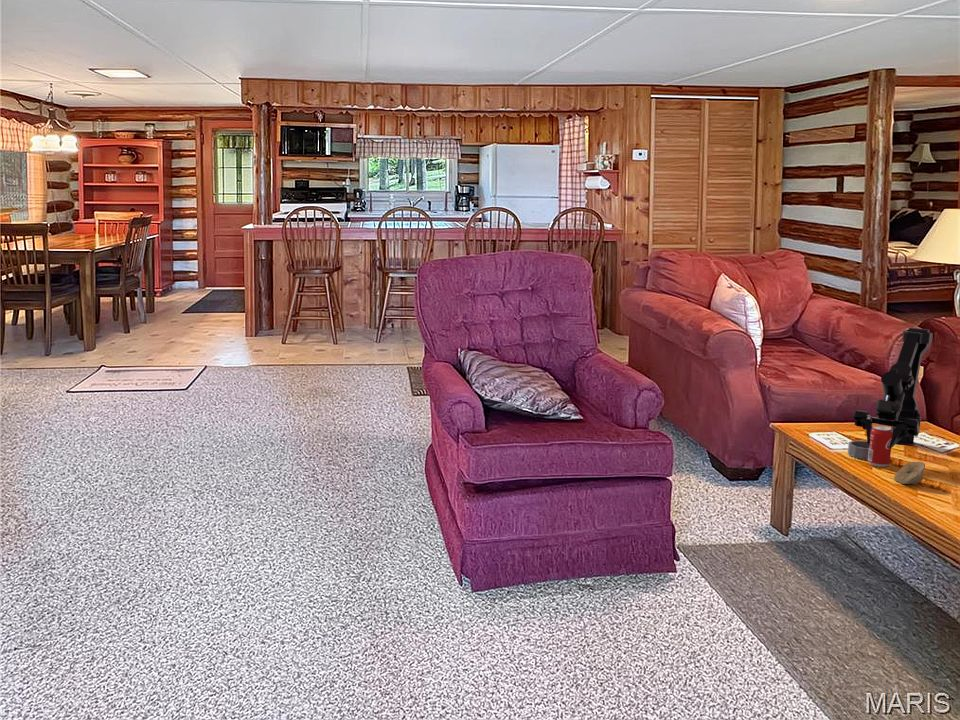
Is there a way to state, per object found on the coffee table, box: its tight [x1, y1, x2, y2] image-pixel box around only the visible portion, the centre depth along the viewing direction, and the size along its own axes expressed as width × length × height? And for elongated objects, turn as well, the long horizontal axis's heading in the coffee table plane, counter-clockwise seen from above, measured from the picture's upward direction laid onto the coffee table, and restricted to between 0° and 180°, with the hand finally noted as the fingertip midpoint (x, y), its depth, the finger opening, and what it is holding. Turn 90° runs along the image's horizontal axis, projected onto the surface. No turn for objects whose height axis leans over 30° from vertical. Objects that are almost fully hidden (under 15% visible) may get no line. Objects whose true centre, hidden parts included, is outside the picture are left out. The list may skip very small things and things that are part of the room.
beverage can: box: [867, 425, 893, 468], centre depth 280 cm, size 6×6×12 cm
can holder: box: [847, 440, 869, 461], centre depth 289 cm, size 9×9×4 cm
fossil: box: [893, 461, 926, 485], centre depth 263 cm, size 9×4×10 cm
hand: (879, 445), depth 278 cm, fingers closed on beverage can, 6 cm apart
